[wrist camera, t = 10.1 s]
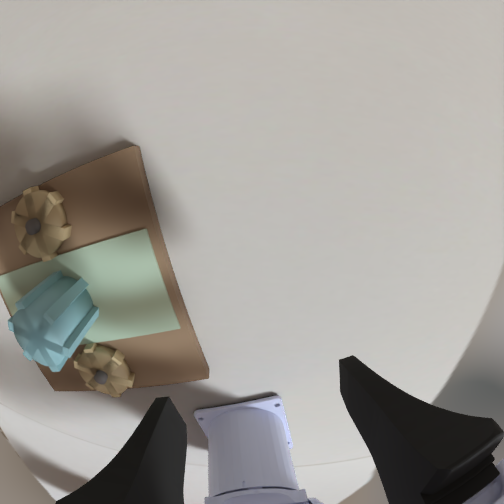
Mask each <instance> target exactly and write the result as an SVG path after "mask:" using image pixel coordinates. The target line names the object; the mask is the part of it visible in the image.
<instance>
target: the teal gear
mask: <svg viewBox="0 0 504 504" xmlns="http://www.w3.org/2000/svg"><path fill="white" fill-rule="evenodd" d="M88 285H89V284H88V283H87V282H86V281H85V280H84V279H83V278H80V279H79V280H78V281H77V280H76V279H74V278H72V277H69V276H63V275H62V272H61V270H60V271H56V272H54V273H52V274H51V275H50V276H48V277H47V278H46V279H45V280H43V281H42V282H41V283H39V284H38V285H37V286H36V287H34V288H33V289H32V290H31V291H29V292H28V293H27V294H26V295H25V296H23V297H22V298H21V299H20V300H19V301H17V302H16V303H15V305H16V307H17V310H18V311H17V312H16V313H15V314H14V315H13V316H12V317H11V318H10V319H9V320H8V326H9V330H10V331H12V332H14V334H15V337H16V339H17V341H18V343H19V344H20V346H21V347H22V349H23V350H24V352H23V355H24V356H25V357H26V358H27V359H28V360H29V361H31V360H32V359H33V360H35V361H36V362H38V363H40V364H42V365H45V366H49V368H50V369H51V371H52V372H59V371H60V370H61V369H62V367H63V365H64V364H65V362H66V361H67V359H68V358H70V357H71V356H72V354H73V353H74V351H75V350H76V348H77V347H78V345H79V344H80V342H81V341H82V339H83V338H84V336H85V335H86V333H87V332H88V330H89V329H90V328H91V326H92V325H93V323H94V322H95V320H96V319H97V318H98V316H99V308H98V307H95V306H93V301H92V298H91V296H90V294H89V292H88V291H87V289H86V288H87V286H88Z"/></svg>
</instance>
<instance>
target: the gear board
mask: <svg viewBox="0 0 504 504" xmlns="http://www.w3.org/2000/svg"><path fill="white" fill-rule="evenodd" d="M60 270H61V272H62V275H63V276H69V277H72V278H74V279H76V280H77V281H78V280H79V279H80V278H83V279H84V280H85V281H86V282H87V283H88V284H89V285H88V286H87V288H86V289H87V291H88V292H89V294H90V296H91V298H92V301H93V306H95V307H98V308H99V316H98V318H97V319H96V320H95V322H94V323H93V325H92V326H91V328H90V329H89V330H88V332H87V333H86V335H85V336H84V338H83V339H82V341H81V342H80V344H79V345H78V347H77V348H76V350H75V351H74V353H73V354H72V356H71V357H70V358H68V359H67V361H66V362H65V364H64V365H63V367H62V369H61V370H60V371H59V372H52V371H51V369H50V368H49V366H45V365H42V364H40V363H38V362H36V361H35V362H36V363H37V365H38V367H39V368H40V370H41V371H42V373H43V374H44V376H45V377H46V379H47V380H48V382H49V383H50V385H51V386H52V388H53V389H54V391H96V390H97V391H99V392H102V393H105V394H110V395H111V396H112V397H121V394H122V393H123V392H124V391H125V390H126V389H129V388H141V387H151V386H160V385H168V384H176V383H183V382H190V381H196V380H202V379H208V378H209V367H208V364H207V362H206V359H205V357H204V354H203V352H202V349H201V347H200V344H199V342H198V339H197V336H196V334H195V331H194V328H193V326H192V323H191V320H190V318H189V315H188V312H187V309H186V307H185V304H184V301H183V298H182V295H181V292H180V289H179V286H178V283H177V280H176V277H175V274H174V271H173V268H172V265H171V262H170V259H169V256H168V252H167V249H166V246H165V243H164V239H163V236H162V232H161V229H160V226H159V222H158V218H157V215H156V211H155V208H154V204H153V200H152V196H151V193H150V189H149V185H148V181H147V177H146V173H145V169H144V164H143V160H142V156H141V151H140V147H139V146H131V147H128V148H125V149H123V150H120V151H117V152H114V153H112V154H109V155H106V156H104V157H101V158H99V159H96V160H94V161H91V162H89V163H87V164H84V165H82V166H79V167H77V168H75V169H73V170H70V171H68V172H66V173H64V174H62V175H59V176H57V177H55V178H53V179H51V180H49V181H47V182H45V183H43V184H41V185H39V186H34V187H30V188H28V189H26V190H24V191H23V194H22V195H20V196H18V197H16V198H14V199H13V200H11V201H9V202H7V203H6V204H4V205H2V206H1V207H0V293H1V296H2V298H3V300H4V303H5V305H6V307H7V309H8V311H9V314H10V316H11V317H12V316H13V315H14V314H15V313H16V312H17V311H18V310H17V307H16V305H15V303H16V302H17V301H19V300H20V299H21V298H22V297H23V296H25V295H26V294H27V293H28V292H29V291H31V290H32V289H33V288H34V287H36V286H37V285H38V284H39V283H41V282H42V281H43V280H45V279H46V278H47V277H48V276H50V275H51V274H52V273H54V272H56V271H60Z"/></svg>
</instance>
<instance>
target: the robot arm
mask: <svg viewBox="0 0 504 504" xmlns="http://www.w3.org/2000/svg"><path fill="white" fill-rule="evenodd" d="M339 369H340V392H341V395H342V398H343V400H344V403H345V405H346V408H347V410H348V412H349V414H350V416H351V418H352V420H353V422H354V423H355V425H356V427H357V429H358V431H359V432H360V434H361V436H362V438H363V440H364V441H365V443H366V445H367V447H368V449H369V451H370V453H371V455H372V457H373V460H374V463H375V465H376V468H377V470H378V473H379V476H380V478H381V481H382V484H383V487H384V490H385V492H386V496H387V499H388V502H389V504H504V458H503V459H502V460H501V461H500V462H499V463H498V464H497V465H496V466H495V465H494V464H493V463H492V462H493V461H494V457H493V455H492V454H491V453H492V452H493V451H494V450H495V448H496V447H497V446H498V444H499V443H500V442H501V440H502V439H503V437H504V432H503V430H502V429H501V428H500V427H499V425H498V424H497V423H496V422H495V421H494V420H493V419H492V418H482V417H475V416H468V415H464V414H459V413H455V412H451V411H448V410H445V409H442V408H439V407H436V406H433V405H431V404H428V403H426V402H424V401H422V400H419V399H417V398H415V397H413V396H411V395H409V394H408V393H406V392H404V391H402V390H401V389H399V388H397V387H396V386H394V385H393V384H391V383H389V382H388V381H387V380H385V379H384V378H382V377H381V376H379V375H378V374H376V373H375V372H374V371H372V370H371V369H370V368H369V367H367V366H366V365H365V364H363V363H362V362H361V361H360V360H358V359H357V358H356V357H355V356H353V355H352V356H350V357H347V358H344V359H340V360H339ZM277 403H278V404H277ZM194 417H195V418H196V420H197V422H198V424H199V425H200V427H201V429H202V430H203V432H204V433H205V435H206V437H207V438H208V482H209V497H205V504H324V503H322V502H320V501H319V500H318V499H316V498H307V494H306V491H305V489H302V490H299V486H298V482H297V478H296V474H295V470H294V466H293V462H292V458H291V454H290V449H291V448H292V447H293V444H292V440H291V436H290V431H289V427H288V423H287V419H286V415H285V411H284V407H283V403H282V399H281V397H280V396H271V397H267V398H262V399H258V400H253V401H248V402H243V403H238V404H232V405H226V406H220V407H214V408H207V409H200V410H196V411H194ZM201 417H202V418H201ZM186 450H187V433H186V424H185V422H184V421H183V419H182V417H181V416H180V414H179V413H178V411H177V409H176V408H175V406H174V404H173V403H172V401H171V399H170V398H169V397H161V398H156V399H155V401H154V402H153V404H152V405H151V407H150V408H149V410H148V411H147V413H146V414H145V416H144V418H143V419H142V421H141V422H140V424H139V425H138V427H137V428H136V430H135V431H134V433H133V434H132V436H131V437H130V438H129V440H128V441H127V442H126V444H125V445H124V446H123V448H122V449H121V450H120V451H119V453H118V454H117V455H116V456H115V457H114V458H113V459H112V461H111V462H110V463H109V464H108V465H107V466H106V467H105V468H104V469H103V470H101V471H100V472H99V473H98V474H97V475H96V476H95V477H94V478H92V479H91V480H90V481H89V482H87V483H86V484H85V485H83V486H82V487H80V488H79V489H77V490H76V491H74V492H73V493H71V494H69V495H67V496H65V497H64V498H62V499H60V500H58V501H56V504H184V497H183V484H184V473H185V462H186Z"/></svg>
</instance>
